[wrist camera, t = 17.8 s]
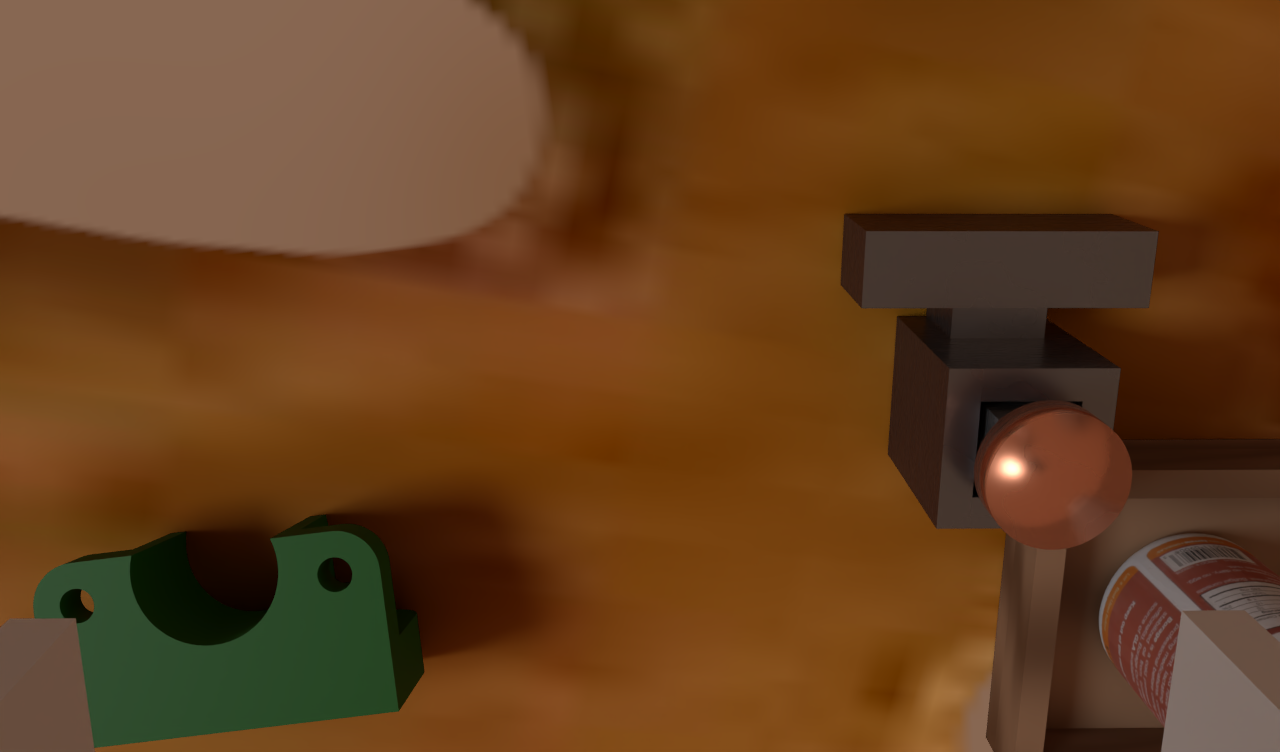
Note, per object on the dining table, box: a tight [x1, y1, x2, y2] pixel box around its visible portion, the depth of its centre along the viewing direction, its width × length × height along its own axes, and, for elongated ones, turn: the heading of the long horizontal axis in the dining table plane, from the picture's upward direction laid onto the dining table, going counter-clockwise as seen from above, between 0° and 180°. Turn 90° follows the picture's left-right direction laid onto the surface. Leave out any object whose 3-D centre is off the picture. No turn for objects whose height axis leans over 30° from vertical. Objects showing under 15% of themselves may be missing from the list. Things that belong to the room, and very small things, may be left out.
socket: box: [841, 214, 1159, 529], centre depth 36 cm, size 19×9×6 cm, turn 0°
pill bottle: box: [1099, 533, 1280, 728], centre depth 37 cm, size 6×6×11 cm
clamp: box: [33, 514, 424, 748], centre depth 40 cm, size 12×6×9 cm, turn 92°
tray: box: [986, 439, 1280, 752], centre depth 42 cm, size 12×12×3 cm
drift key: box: [974, 400, 1132, 550], centre depth 36 cm, size 4×4×7 cm
